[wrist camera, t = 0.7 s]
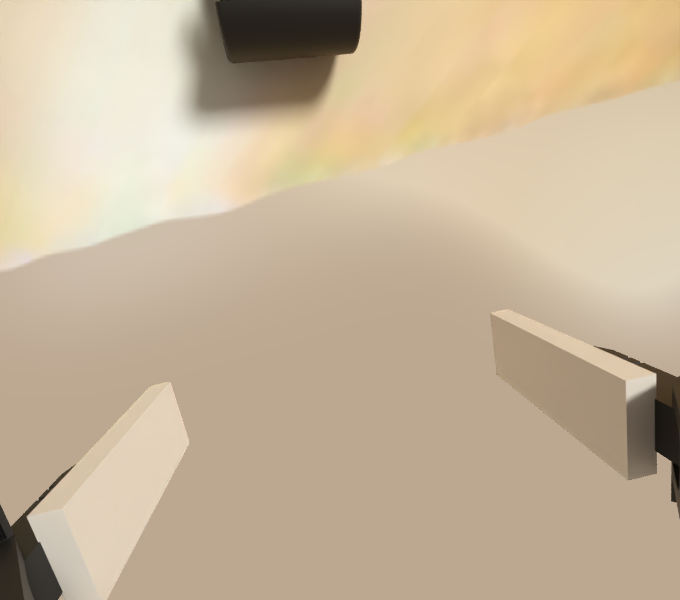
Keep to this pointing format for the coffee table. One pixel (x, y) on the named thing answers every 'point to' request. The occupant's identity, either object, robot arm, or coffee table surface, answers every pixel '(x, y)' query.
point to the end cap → (288, 28)
